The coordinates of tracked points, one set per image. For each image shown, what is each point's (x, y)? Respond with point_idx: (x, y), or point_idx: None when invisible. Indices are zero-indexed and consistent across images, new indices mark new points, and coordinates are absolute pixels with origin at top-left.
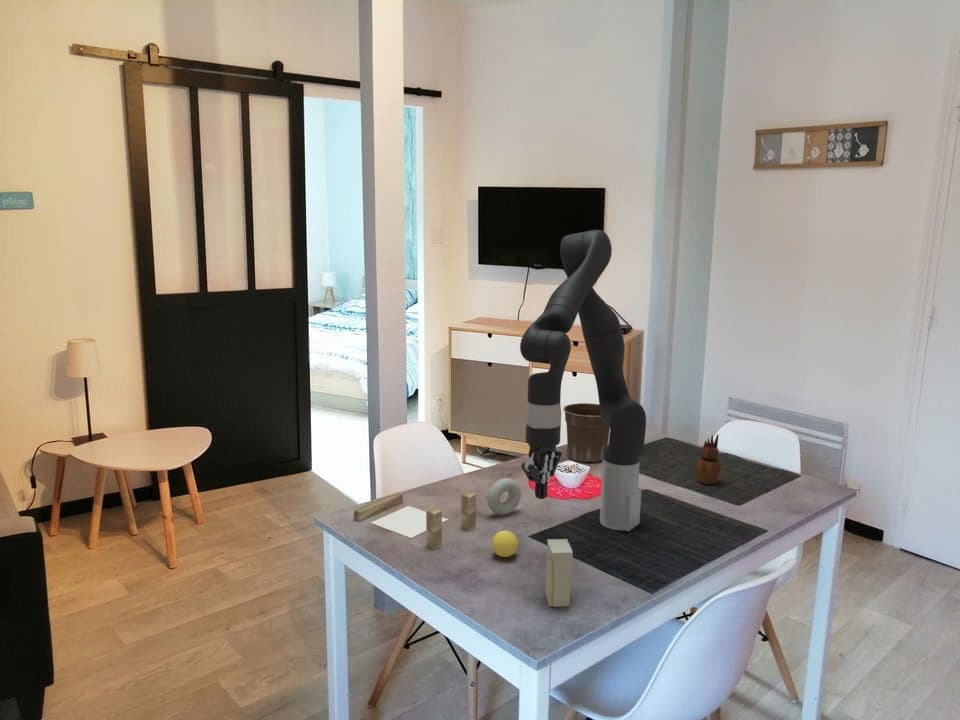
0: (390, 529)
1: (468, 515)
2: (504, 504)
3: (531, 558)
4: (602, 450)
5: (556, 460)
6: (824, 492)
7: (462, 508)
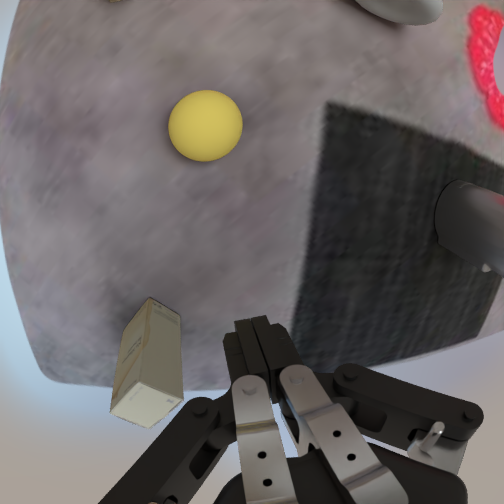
0: None
1: None
2: (381, 1)
3: (240, 179)
4: None
5: (401, 447)
6: None
7: None
